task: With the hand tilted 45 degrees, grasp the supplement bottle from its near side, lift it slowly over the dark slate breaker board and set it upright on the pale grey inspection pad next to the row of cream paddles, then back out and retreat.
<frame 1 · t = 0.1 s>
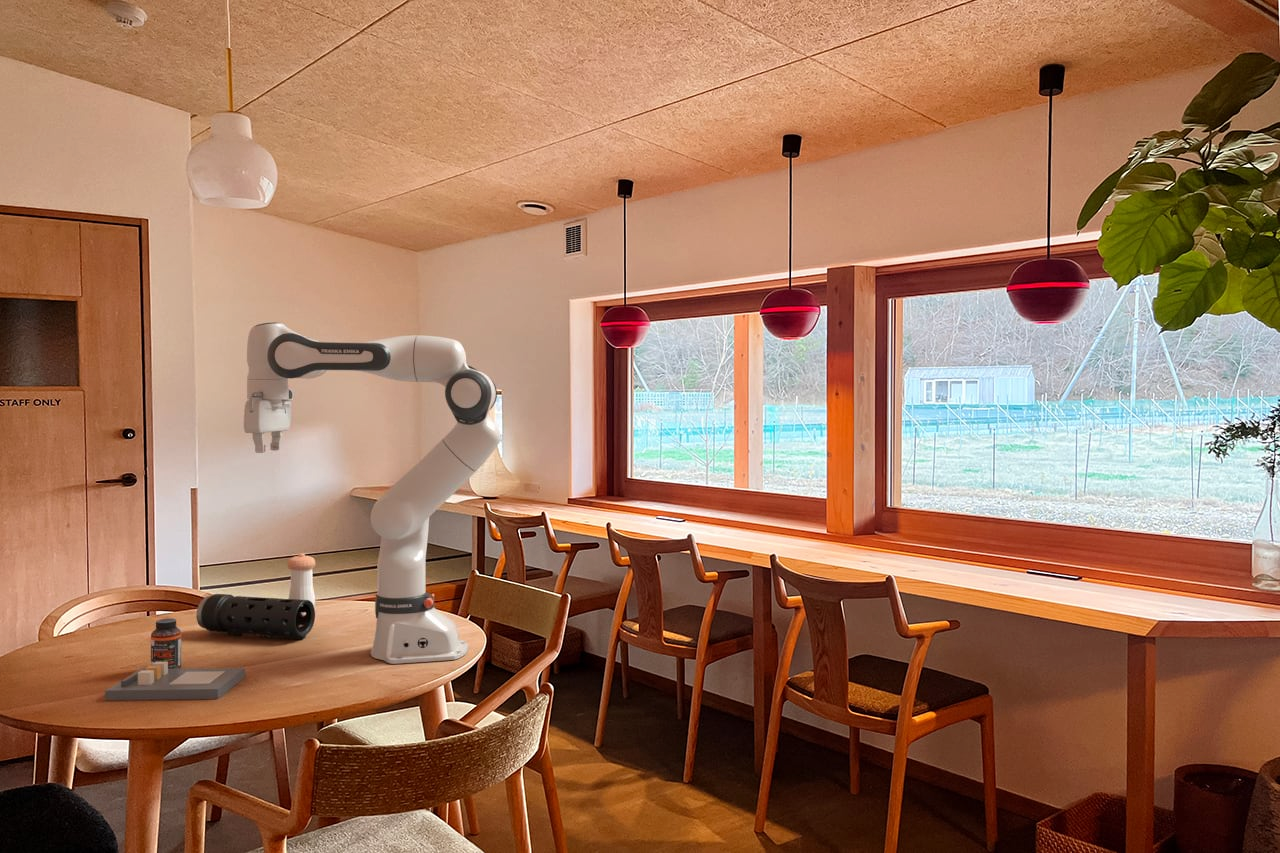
hand: (267, 451, 207), 48 cm above the table, tool pointing down, fingers open, 8 cm apart
supplement bottle: (166, 671, 195), on the table
breaker board: (178, 688, 184), on the table
muzzle brake: (255, 637, 224), on the table
pepper shaker: (302, 625, 235), on the table
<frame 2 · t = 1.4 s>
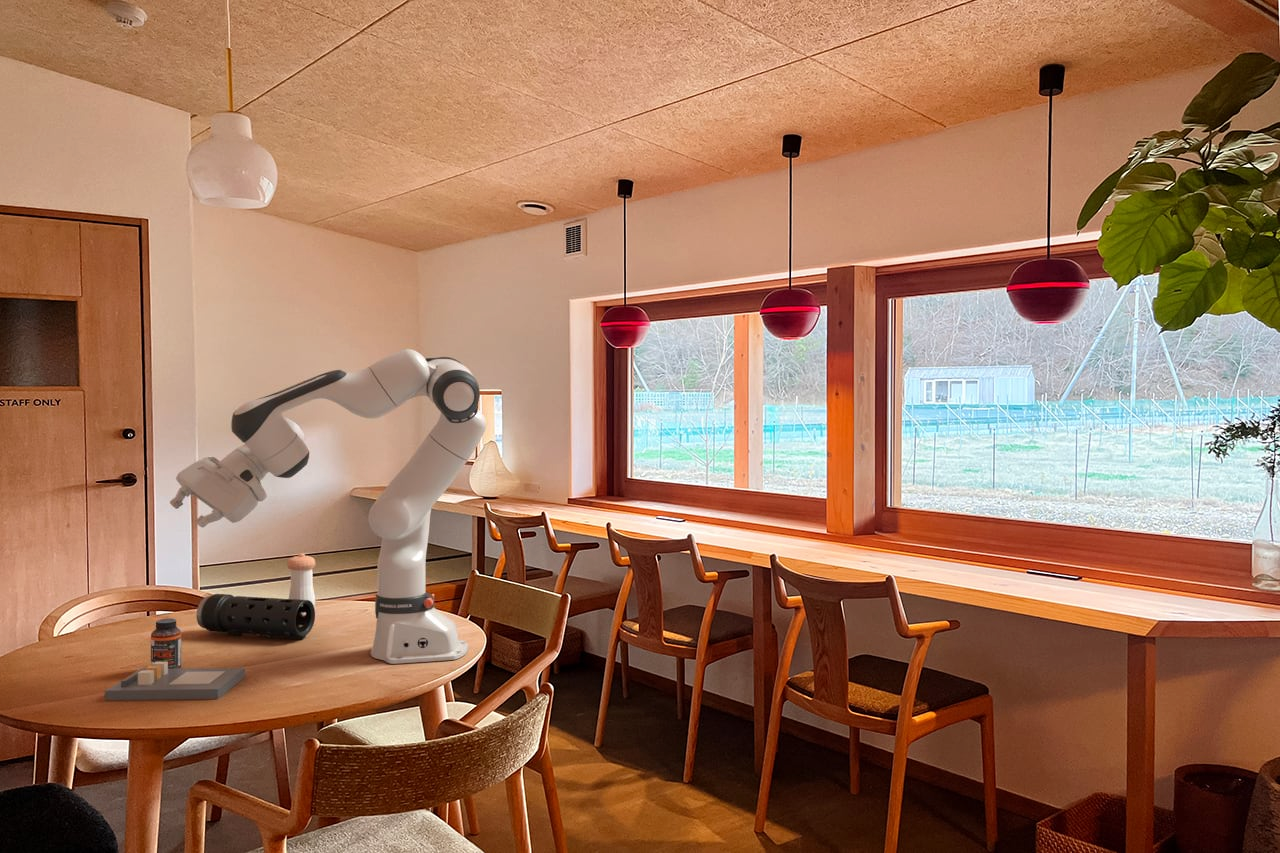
hand: (185, 515, 190), 35 cm above the table, tool tilted 50°, fingers open, 8 cm apart
nothing on the table moved.
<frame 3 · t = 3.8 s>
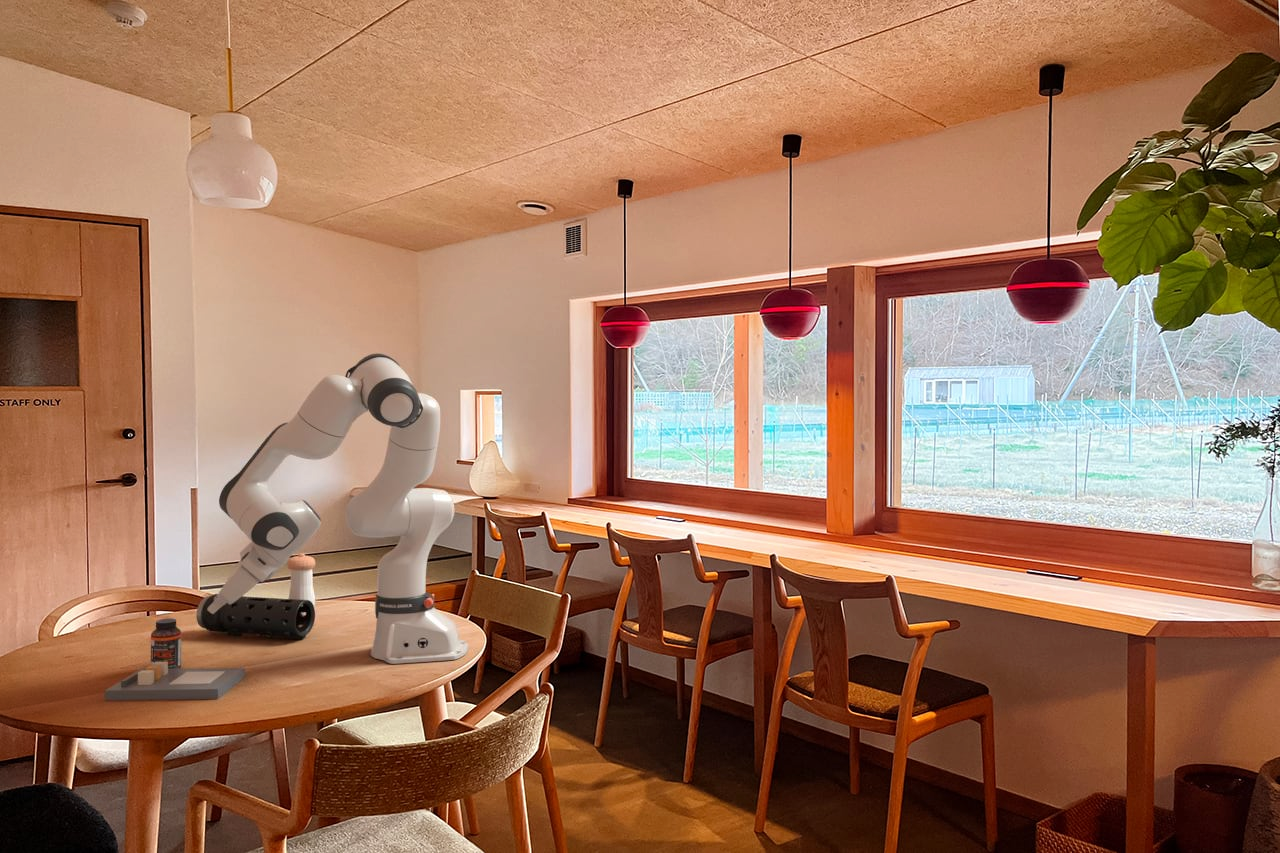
hand: (213, 606, 197), 14 cm above the table, tool tilted 45°, fingers open, 8 cm apart
nothing on the table moved.
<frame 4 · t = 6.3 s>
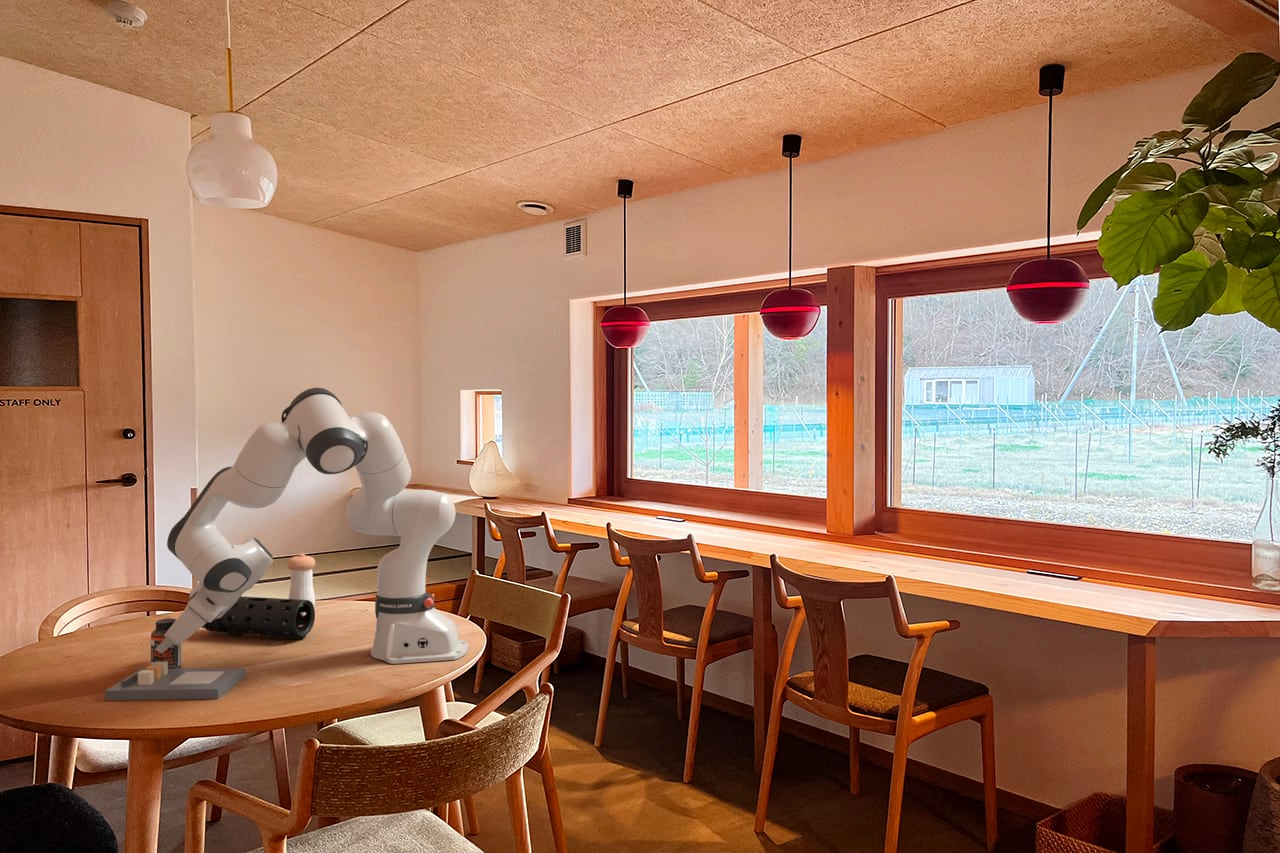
hand: (162, 646, 195), 6 cm above the table, tool tilted 45°, fingers closed on supplement bottle, 6 cm apart
supplement bottle: (166, 671, 195), on the table, touching gripper
everything else where it was.
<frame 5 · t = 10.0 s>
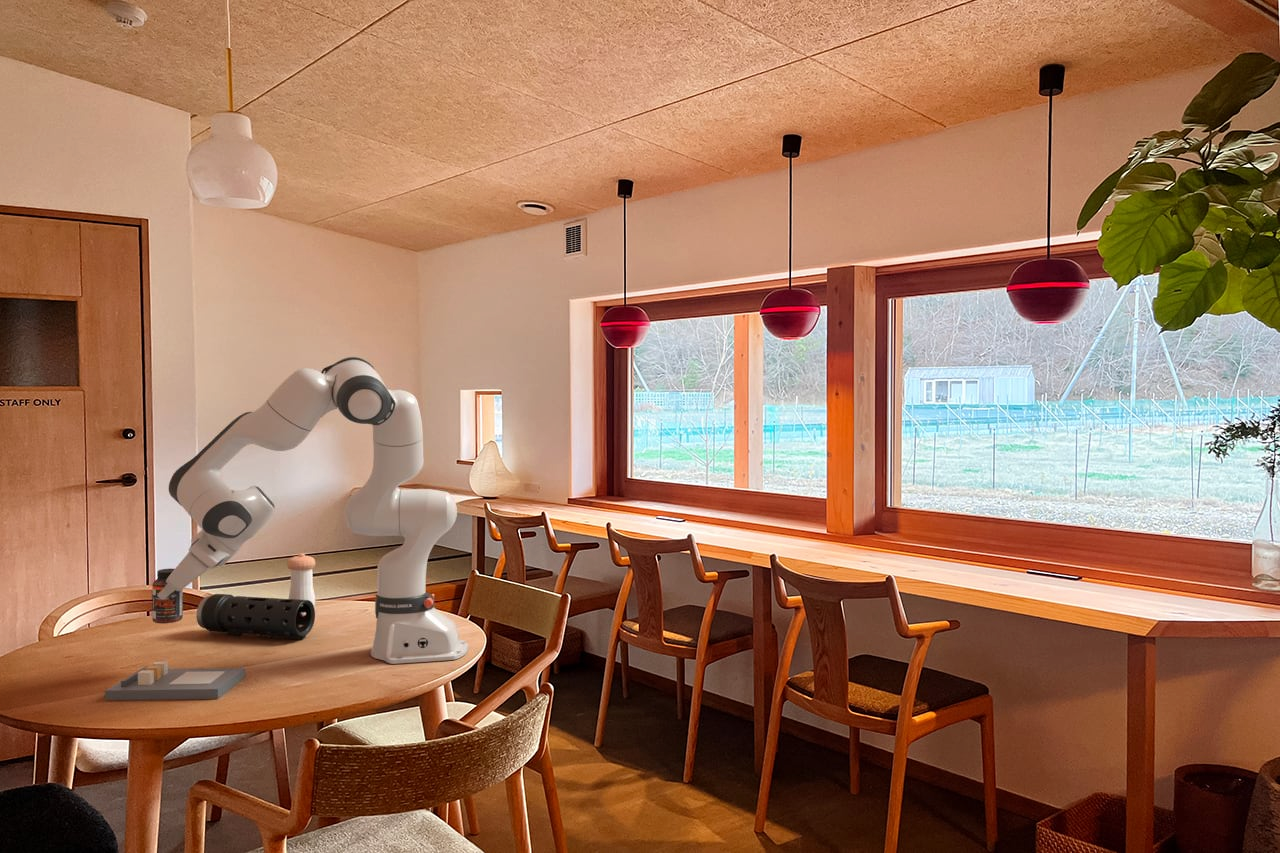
hand: (164, 593, 194), 17 cm above the table, tool tilted 45°, fingers closed on supplement bottle, 6 cm apart
supplement bottle: (167, 621, 195), point 11 cm above the table, touching gripper
everything else where it was.
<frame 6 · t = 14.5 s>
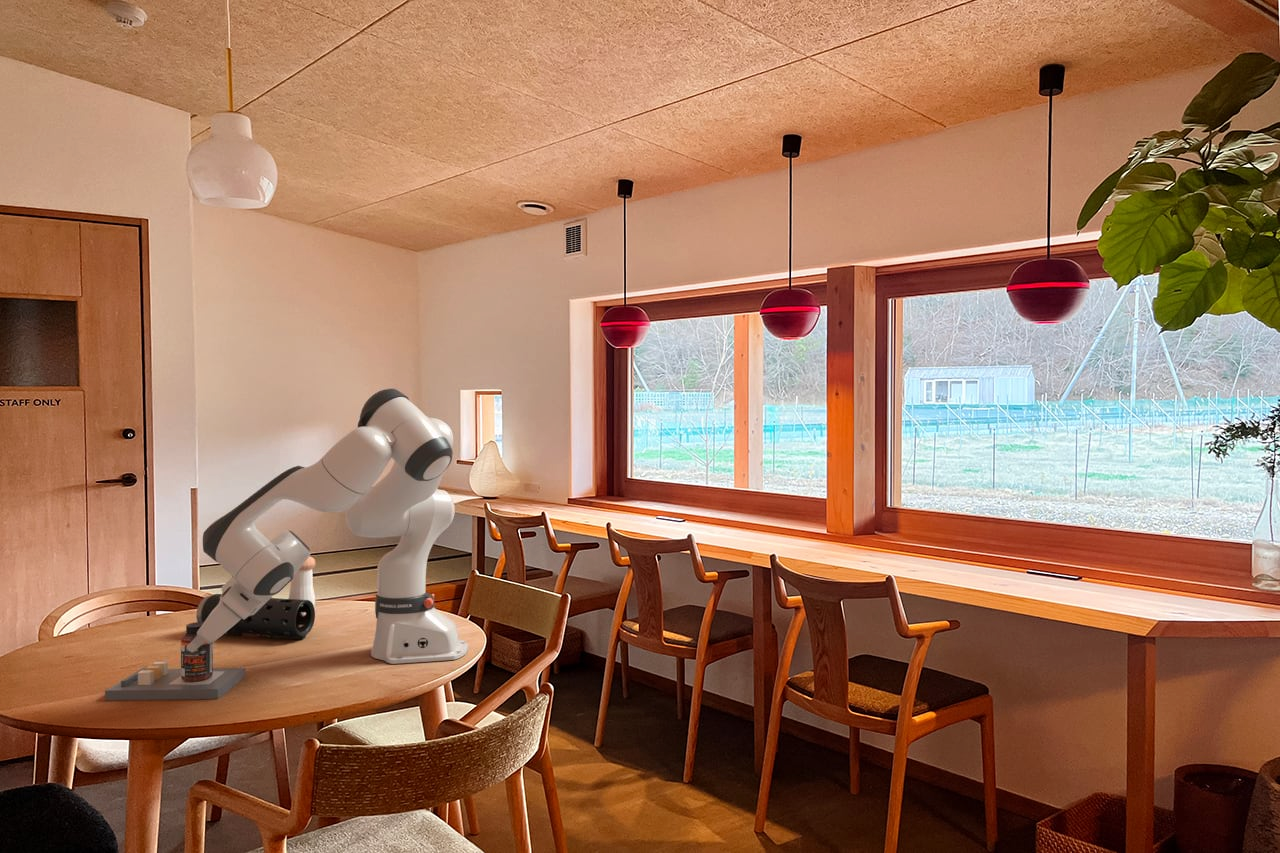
hand: (192, 644, 183), 9 cm above the table, tool tilted 45°, fingers closed on supplement bottle, 6 cm apart
supplement bottle: (197, 679, 183), point 2 cm above the table, touching breaker board, gripper
everything else where it was.
when the fingers open (9 cm above the table, at t = 14.5 s): supplement bottle stays where it is, resting on breaker board.
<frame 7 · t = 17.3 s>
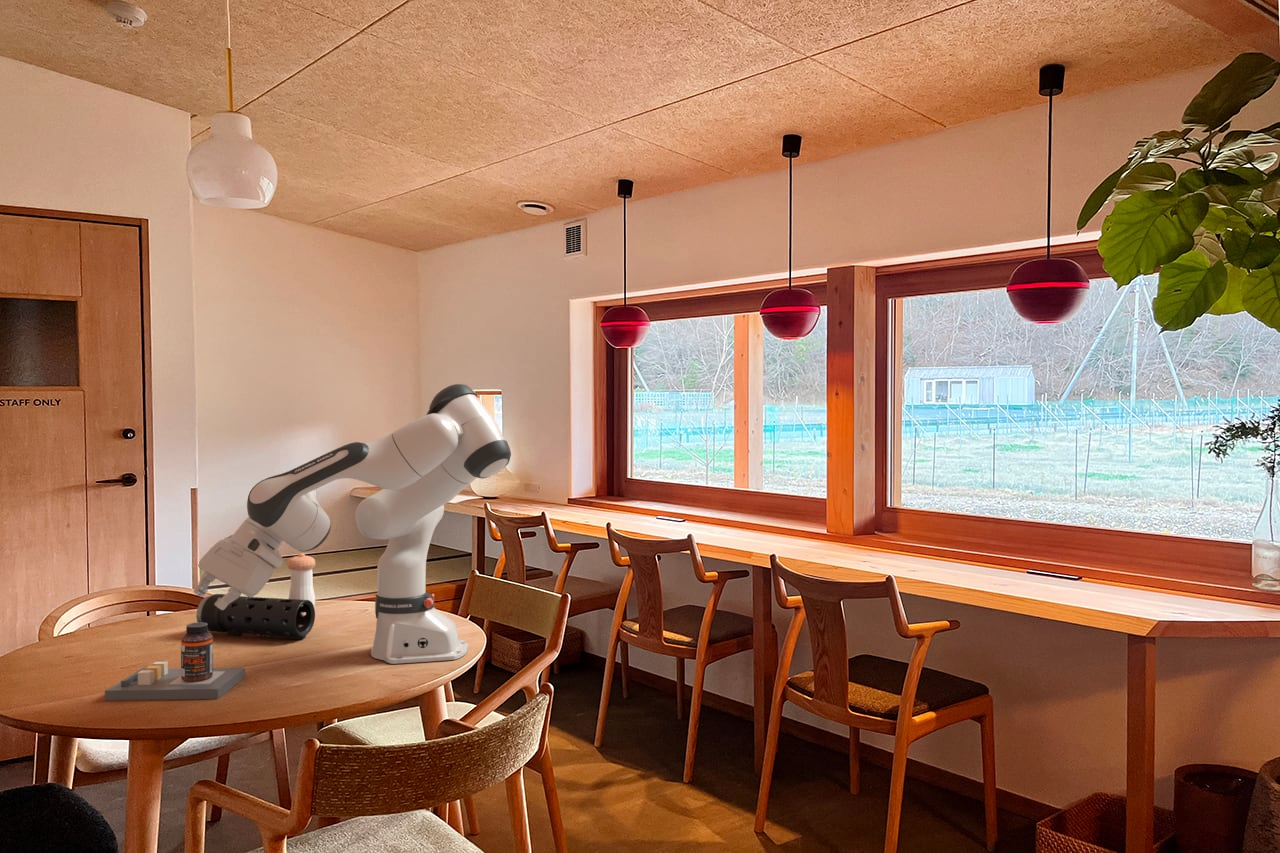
hand: (207, 601, 179), 19 cm above the table, tool tilted 40°, fingers open, 8 cm apart
supplement bottle: (197, 679, 183), point 2 cm above the table, touching breaker board
everything else where it was.
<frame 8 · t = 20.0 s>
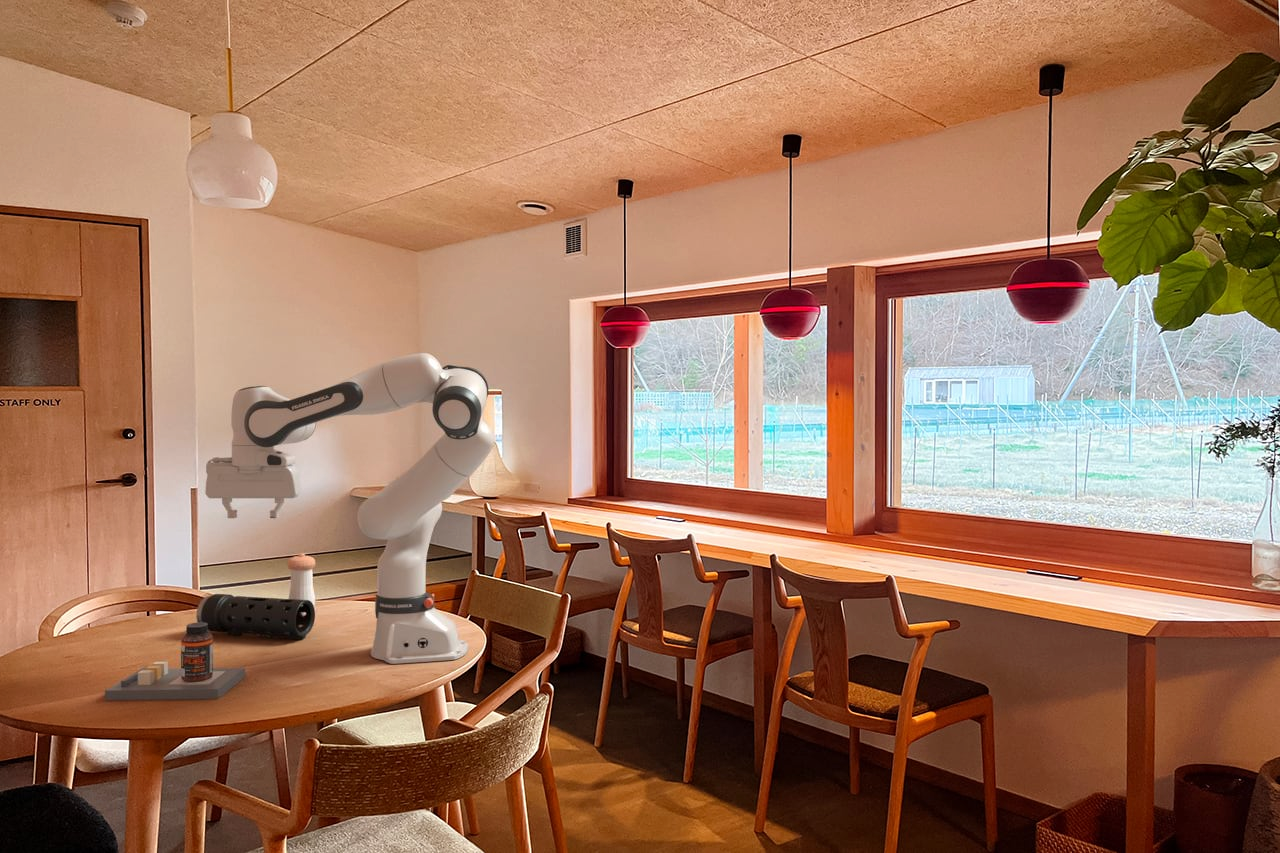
hand: (253, 518, 201), 33 cm above the table, tool pointing down, fingers open, 8 cm apart
nothing on the table moved.
at the end: supplement bottle inside the target area on the breaker board (0.6 cm from its centre), point 2.0 cm above the breaker board's base; supplement bottle tilted 0°; the gripper is holding nothing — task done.
